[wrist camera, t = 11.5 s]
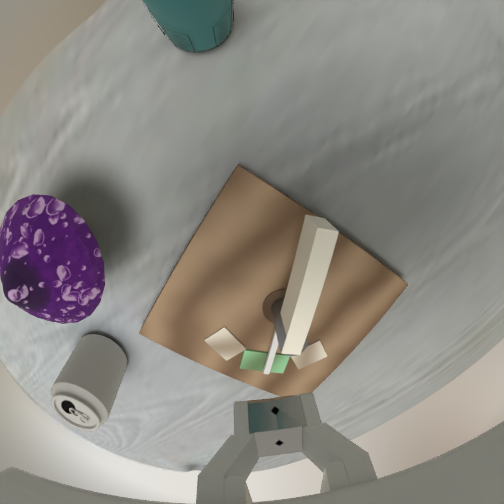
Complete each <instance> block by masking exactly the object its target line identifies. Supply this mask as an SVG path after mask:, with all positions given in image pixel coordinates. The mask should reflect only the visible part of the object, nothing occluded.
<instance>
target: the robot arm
mask: <svg viewBox="0 0 504 504" xmlns="http://www.w3.org/2000/svg"><path fill="white" fill-rule="evenodd" d="M295 452H302V453H303V454H304V455H306V456H307V457H308V458H309V459H310V460H311V461H312V462H313V463H314V464H315V465H316V466H317V467H318V468H319V469H320V470H321V471H322V472H324V475H323V480H322V485H321V493H320V494H314V495H309V496H302V497H296V498H289V499H282V500H274V501H264V502H252V499H251V496H250V493H249V490H248V487H247V484H246V479H247V478H248V476H249V474H250V473H251V471H252V469H253V468H254V466H255V464H256V463H257V461H258V459H259V457H265V456H272V455H279V454H287V453H295ZM0 504H185V503H168V502H156V501H147V500H139V499H132V498H125V497H118V496H113V495H107V494H103V493H98V492H93V491H89V490H84V489H80V488H76V487H72V486H69V485H65V484H62V483H58V482H55V481H52V480H48V479H45V478H42V477H39V476H36V475H34V474H31V473H28V472H25V471H23V470H20V469H18V468H14V467H10V468H7V469H5V470H3V471H1V472H0ZM196 504H504V421H503V422H502V423H500V424H498V425H497V426H495V427H494V428H492V429H490V430H488V431H487V432H485V433H483V434H481V435H480V436H478V437H476V438H474V439H472V440H470V441H468V442H467V443H465V444H463V445H461V446H459V447H457V448H455V449H452V450H450V451H448V452H447V453H444V454H442V455H440V456H437V457H435V458H433V459H430V460H428V461H426V462H423V463H421V464H418V465H416V466H413V467H411V468H408V469H405V470H403V471H400V472H397V473H394V474H391V475H388V476H385V477H382V478H379V479H377V476H376V473H375V470H374V468H373V465H372V462H371V460H370V457H369V454H368V452H366V451H364V450H363V449H362V448H360V447H359V446H357V445H356V444H354V443H353V442H352V441H350V440H349V439H347V438H346V437H345V436H343V435H342V434H340V433H339V432H338V431H336V430H335V429H333V428H332V427H331V426H329V425H328V424H327V423H321V419H320V416H319V412H318V409H317V405H316V402H315V398H314V395H313V393H312V392H309V393H303V394H295V395H289V396H283V397H276V398H271V399H261V400H250V401H238V402H234V435H230V437H229V438H228V439H227V440H226V442H225V443H224V444H223V446H222V447H221V448H220V449H219V451H218V452H217V453H216V454H215V456H214V457H213V458H212V459H211V460H210V462H209V463H208V464H207V465H206V467H205V468H204V469H203V470H202V471H201V473H200V474H199V475H198V484H197V499H196Z"/></svg>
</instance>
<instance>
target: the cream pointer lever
mask: <svg viewBox="0 0 504 504" xmlns="http://www.w3.org/2000/svg"><path fill="white" fill-rule="evenodd" d="M338 233H339V231H338V230H337V229H336V228H335V227H334V226H333V225H331V224H330V223H329V222H328V221H327V220H326V219H325V218H321V217H316V216H311V215H305V219H304V223H303V227H302V231H301V236H300V240H299V244H298V248H297V252H296V256H295V260H294V263H293V267H292V271H291V275H290V279H289V283H288V287H287V290H286V294H285V298H279V299H277V300H275V301H274V302H273V304H272V306H271V312H272V317H273V321H274V326H275V331H274V334H273V338H272V341H271V345H270V348H269V352H268V355H267V359H266V362H265V366H264V369H263V374H269V373H270V370H271V367H272V363H273V360H274V357H275V354H276V350H277V347H278V344H279V349H280V351H281V354H284V355H287V356H296V355H300V354H301V353H302V352H303V351H304V350H305V349H306V347H307V344H308V343H307V339H306V337H307V334H308V331H309V328H310V325H311V322H312V319H313V316H314V313H315V310H316V307H317V304H318V301H319V298H320V295H321V291H322V288H323V285H324V282H325V278H326V275H327V272H328V268H329V265H330V262H331V258H332V255H333V251H334V248H335V244H336V241H337V237H338Z"/></svg>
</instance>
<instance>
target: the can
mask: <svg viewBox="0 0 504 504" xmlns="http://www.w3.org/2000/svg"><path fill="white" fill-rule="evenodd" d="M126 368H127V358H126V356H125V354H124V352H123V350H122V349H121V348H120V347H119V346H118V345H117V344H116V343H115V342H114V341H112V340H111V339H109V338H107V337H105V336H102V335H97V334H89V335H86V336H84V337H82V338H81V340H80V341H79V343H78V344H77V346H76V347H75V349H74V351H73V352H72V354H71V356H70V357H69V359H68V361H67V362H66V364H65V366H64V367H63V369H62V371H61V372H60V374H59V376H58V378H57V379H56V381H55V383H54V384H53V386H52V388H51V395H52V399H51V405H52V407H53V409H54V411H55V412H56V414H57V415H58V416H59V417H60V418H61V419H62V420H64V421H65V422H66V423H68V424H69V425H71V426H73V427H75V428H78V429H81V430H85V431H93V430H97V429H98V428H99V427H100V425H101V424H104V423H105V422H106V421H107V420H108V417H109V414H110V412H111V409H112V406H113V403H114V400H115V398H116V395H117V392H118V389H119V387H120V384H121V381H122V379H123V376H124V373H125V371H126Z"/></svg>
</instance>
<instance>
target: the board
mask: <svg viewBox="0 0 504 504" xmlns="http://www.w3.org/2000/svg"><path fill="white" fill-rule="evenodd" d="M305 215H311V216H316V215H315V214H313V213H312V212H310V211H309V210H307V209H306V208H305V207H303V206H302V205H300V204H299V203H297V202H296V201H294V200H293V199H291V198H290V197H288V196H287V195H285V194H284V193H282V192H281V191H279V190H278V189H276V188H274V187H273V186H271V185H270V184H268V183H267V182H265V181H264V180H262V179H261V178H259V177H257V176H256V175H254V174H253V173H251V172H250V171H248V170H246V169H245V168H243V167H242V166H240V165H237V166H236V168H235V169H234V171H233V173H232V174H231V176H230V177H229V179H228V180H227V182H226V183H225V185H224V187H223V188H222V190H221V191H220V193H219V194H218V196H217V198H216V199H215V201H214V202H213V204H212V206H211V207H210V209H209V211H208V212H207V214H206V215H205V217H204V219H203V220H202V222H201V224H200V225H199V227H198V229H197V230H196V232H195V234H194V235H193V237H192V239H191V240H190V242H189V244H188V245H187V247H186V249H185V250H184V252H183V254H182V255H181V257H180V259H179V261H178V262H177V264H176V266H175V267H174V269H173V271H172V273H171V274H170V276H169V278H168V280H167V281H166V283H165V285H164V287H163V289H162V290H161V292H160V294H159V296H158V298H157V299H156V301H155V303H154V305H153V307H152V308H151V310H150V312H149V314H148V316H147V318H146V320H145V321H144V323H143V325H142V328H141V330H140V333H139V334H141V335H143V336H145V337H147V338H149V339H150V340H152V341H154V342H156V343H158V344H160V345H162V346H164V347H166V348H168V349H170V350H172V351H174V352H176V353H178V354H180V355H183V356H185V357H187V358H189V359H191V360H193V361H195V362H197V363H200V364H202V365H204V366H206V367H209V368H211V369H213V370H215V371H218V372H220V373H222V374H225V375H227V376H229V377H232V378H234V379H237V380H239V381H242V382H244V383H247V384H249V385H252V386H254V387H257V388H259V389H262V390H265V391H267V392H270V393H273V394H275V395H278V396H281V397H283V396H289V395H295V394H303V393H309V392H313V391H314V390H315V389H316V388H317V387H318V386H319V385H320V384H321V383H322V382H323V381H324V380H325V379H326V378H327V377H328V376H329V375H330V374H331V373H332V372H333V371H334V370H335V369H336V368H337V367H338V366H339V365H340V364H341V363H342V362H343V360H344V359H345V358H346V357H347V356H348V355H349V354H350V353H351V352H352V351H353V350H354V349H355V348H356V347H357V345H358V344H359V343H360V342H361V341H362V340H363V339H364V338H365V336H366V335H367V334H368V333H369V332H370V331H371V330H372V329H373V327H374V326H375V325H376V324H377V323H378V322H379V320H380V319H381V318H382V317H383V316H384V314H385V313H386V312H387V311H388V310H389V308H390V307H391V306H392V305H393V303H394V302H395V301H396V300H397V298H398V297H399V296H400V295H401V293H402V292H403V291H404V289H405V288H406V287H407V286H408V284H407V283H406V282H405V281H404V280H403V279H402V278H401V277H400V276H398V275H397V274H396V273H394V272H393V271H392V270H391V269H389V268H388V267H387V266H385V265H384V264H383V263H381V262H380V261H379V260H377V259H376V258H375V257H373V256H372V255H371V254H369V253H368V252H367V251H365V250H364V249H363V248H361V247H360V246H358V245H357V244H356V243H354V242H353V241H352V240H350V239H349V238H347V237H346V236H345V235H343V234H342V233H340V232H339V233H338V237H337V241H336V244H335V248H334V251H333V255H332V258H331V262H330V265H329V268H328V272H327V275H326V278H325V282H324V285H323V288H322V291H321V295H320V298H319V301H318V304H317V307H316V310H315V313H314V316H313V319H312V322H311V325H310V328H309V331H308V334H307V337H306V339H307V343H308V344H307V347H306V349H305V350H304V351H303V352H302V353H301V354H300V355H296V356H287V355H284V354H281V351H280V349H279V344H278V347H277V350H276V354H275V357H274V360H273V363H272V367H271V370H270V373H269V374H263V369H264V366H265V362H266V359H267V355H268V352H269V348H270V345H271V341H272V338H273V334H274V331H275V326H274V321H273V317H272V312H271V306H272V304H273V302H274V301H275V300H277V299H279V298H285V294H286V290H287V287H288V283H289V279H290V275H291V271H292V267H293V263H294V260H295V256H296V252H297V248H298V244H299V240H300V236H301V231H302V227H303V223H304V219H305ZM316 217H318V216H316Z"/></svg>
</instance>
